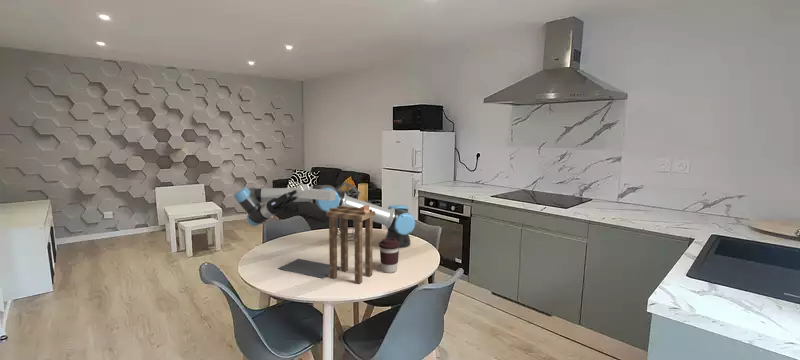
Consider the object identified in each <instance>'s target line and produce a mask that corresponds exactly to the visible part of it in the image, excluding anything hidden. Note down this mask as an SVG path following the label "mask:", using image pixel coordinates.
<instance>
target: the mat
mask: <svg viewBox="0 0 800 360" xmlns="http://www.w3.org/2000/svg"><path fill="white" fill-rule="evenodd" d="M277 270H279V271H286V272H290V273H294V274H300V275H303V276H308V277H313V278H319V279H325V278H326V277H328V276H330V263H324V262H317V261H313V260H306V259H301V258H297V259H295V260H292V261H290V262H288V263H285V264H283V265H282V266H280V267H278V268H277ZM338 270H341V265H340V266H338V265H337V271H338Z"/></svg>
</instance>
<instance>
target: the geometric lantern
mask: <svg viewBox="0 0 800 360" xmlns="http://www.w3.org/2000/svg"><path fill="white" fill-rule="evenodd" d="M334 188H335V189H336V190H339V191H342V192H345V193H346V192H347V193H346V195H347V196H348V197H351V198H354V196H356V198H355V199H359V196H360V194H361V192H360V191H359V190H358V188H357V187H355V186H353V185H352V184H350V183H349V182H347V181H346V182H345V181H344V182H343V183H341V184H339V185H338V186H337V187H334ZM350 191H351V192H350ZM353 192H354V193H353ZM352 221H353V224H352V225H353V227H351V228H350V227H348V230H352V232H348V242H350V241H355V220H352ZM337 237H339V238H340V239H341V218H337ZM349 238H353V239H349Z"/></svg>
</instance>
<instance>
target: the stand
mask: <svg viewBox="0 0 800 360" xmlns="http://www.w3.org/2000/svg"><path fill="white" fill-rule="evenodd" d="M375 215H376V211H373V209H370V206H369V205H364V206H362V207H360V208H356V207H347V206H337V208H330V211H328V212H325V217H328V233H329V234H328V241H329V242H328V244H329V249H328V250H329V252H328V253H329V259H328V260H329V265H330V275H329V279H332V280H335V279H337V278H338V270H337V266H338V235H337V218H338V219H339V218H340V219H341V238H340V267H341V268H340V272H343V273H346V272H348V271H349V241H348V240H349V238H348V236H349V235H348V233H349V229H348V228H349V220H352V221H353V220H355V223H354V228H355V229H354V232H355V233H354V234H355V240H354V284H356V285H361V284H362V283H363V222H364V224H365V229H364V235H365V236H364V256H365V257H364V276H365V277H367V278H371V277H372V276H373V234H374V233H373V225H374V224H373V223H374V221H373V216H375Z"/></svg>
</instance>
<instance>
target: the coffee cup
mask: <svg viewBox="0 0 800 360" xmlns="http://www.w3.org/2000/svg"><path fill="white" fill-rule="evenodd" d="M378 247H379V248H380V250H379V257H380V263H381V264H380V265H381V267H380V268H381V271H382V272H383V273H385V274H386V273H387V274H393V273H395V272H397V270H398V262H399V253H400V251H399V249H400V248H399V247H400V242H398V241H397V240H396V239H394V238H386V237H384V238H383V239H382V240H381V241H379V242H378Z"/></svg>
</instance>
